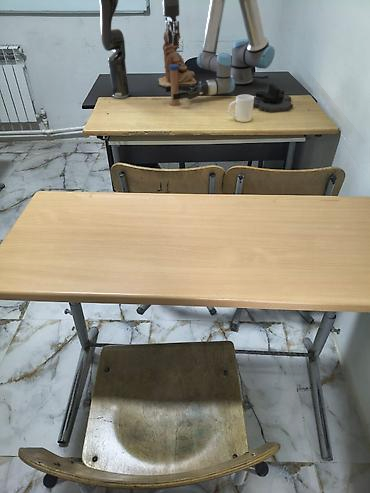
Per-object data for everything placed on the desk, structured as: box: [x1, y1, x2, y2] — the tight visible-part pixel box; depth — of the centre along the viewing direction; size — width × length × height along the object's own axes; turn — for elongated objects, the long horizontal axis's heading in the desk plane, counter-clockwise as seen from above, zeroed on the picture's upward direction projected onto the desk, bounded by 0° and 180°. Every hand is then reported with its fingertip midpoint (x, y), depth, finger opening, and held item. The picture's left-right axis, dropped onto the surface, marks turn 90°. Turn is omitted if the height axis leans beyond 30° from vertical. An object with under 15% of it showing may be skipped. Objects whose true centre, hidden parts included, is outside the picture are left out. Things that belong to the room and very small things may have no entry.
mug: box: [227, 94, 255, 123], centre depth 170 cm, size 12×8×10 cm
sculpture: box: [157, 30, 198, 88], centre depth 214 cm, size 27×24×30 cm
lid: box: [169, 64, 179, 70], centre depth 182 cm, size 5×5×2 cm
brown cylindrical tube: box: [170, 70, 180, 106], centre depth 187 cm, size 4×4×19 cm
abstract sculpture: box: [253, 83, 294, 113], centre depth 185 cm, size 25×9×20 cm
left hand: (172, 44), depth 175 cm, fingers open, 7 cm apart
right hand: (169, 93), depth 189 cm, fingers open, 13 cm apart
